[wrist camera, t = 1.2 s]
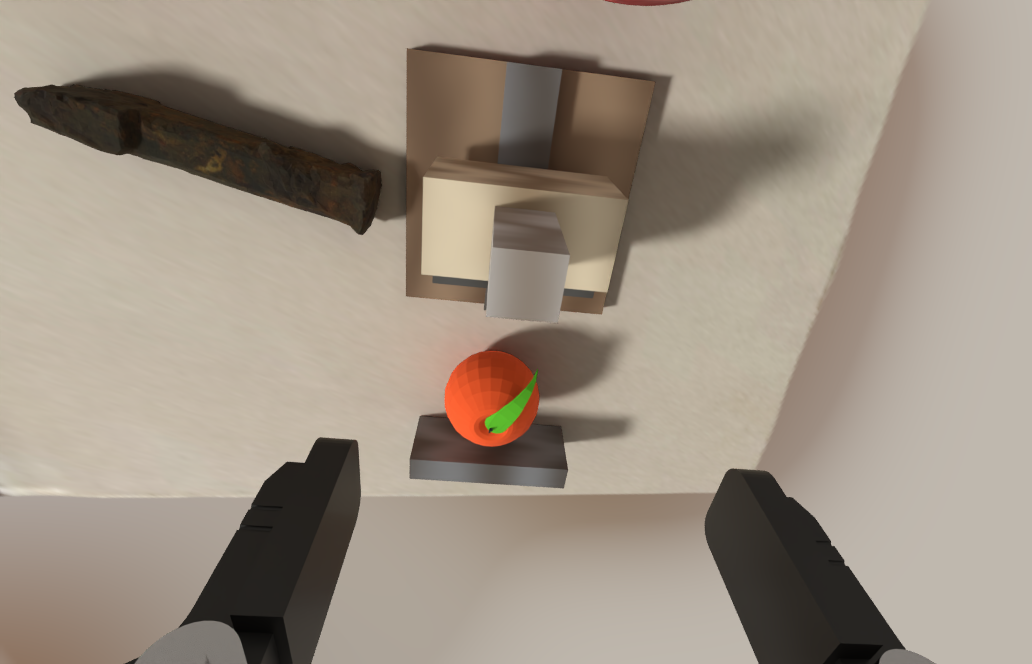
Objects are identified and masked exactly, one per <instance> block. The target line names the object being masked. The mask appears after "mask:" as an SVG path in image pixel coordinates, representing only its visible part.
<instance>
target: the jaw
mask: <svg viewBox="0 0 1032 664" xmlns="http://www.w3.org/2000/svg"><path fill="white" fill-rule="evenodd" d="M627 205H628V199H627V198H626V197H625V196H624V195H623V194H622V192H621V191H620V190H619V189H618V188H617V187H616V186H615V185H614V184H613V183H612V182H611V181H610V179H609V178H608V177H607V176H599V175H590V174H582V173H573V172H564V171H556V170H547V169H539V168H530V167H522V166H513V165H504V164H496V163H487V162H479V161H470V160H462V159H453V158H444V157H437V158H436V159H435V161H434V162H433V164H432V165H431V166H430V168H429V169H428V171H427V172H426V174H425V175H424V177H423V214H422V265H421V274H423V275H433V279H432V283H437V284H447V285H458V286H468V287H478V288H488V292H487V308H486V317H494V318H505V319H516V320H527V321H538V322H549V323H558V320H559V314H560V308H561V303H562V297H563V296H573V297H583V298H593V296H594V291H598V292H607V291H608V287H609V283H610V278H611V274H612V270H613V265H614V261H615V257H616V252H617V248H618V244H619V239H620V235H621V231H622V226H623V222H624V218H625V213H626V209H627Z"/></svg>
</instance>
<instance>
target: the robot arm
mask: <svg viewBox="0 0 1032 664" xmlns="http://www.w3.org/2000/svg"><path fill="white" fill-rule="evenodd" d="M360 497H361V486H360V468H359V450H358V442H357V440H349V439H335V438H322V437H320V438H318V439H317V440H316V441H315V443H314V445H313V447H312V449H311V451H310V453H309V455H308V457H307V459H306V461H305V463H298V462H286V463H285V464H284V465H283V466H282V467H280V468H279V469H278V470H277V471H276V472H275V473H274V474H272V475H271V476H270V477H269V478H268V479H267V480H266V481H265V482H264V483H263V485H262V487H261V489H260V491H259V492H258V494H257V496H256V498H255V500H254V501H253V503H252V506H251V509H250V510H248V512H247V513H246V515H245V517H244V519H243V521H242V523H241V524H240V529H239V530H237V531H236V533H235V535H234V537H233V538H232V540H231V542H230V544H229V545H228V547H227V549H226V550H225V552H224V554H223V556H222V558H221V560H220V561H219V563H218V565H217V566H216V568H215V570H214V572H213V574H212V575H211V577H210V579H209V581H208V582H207V584H206V586H205V587H204V589H203V591H202V593H201V595H200V596H199V598H198V600H197V602H196V604H195V605H194V607H193V609H192V610H191V612H190V613H189V615H188V616H187V618H186V619H185V620H184V621H183V623H182V624H181V625H180V626H179V628H177V629H175V630H173V631H172V632H170V633H168V634H166V635H165V636H163V637H162V638H161V639H159V640H158V641H156V642H155V643H154V644H153V645H151V646H150V647H149V648H148V649H147V650H146V651H145V652H144V653H143V654H142V655H141V656H140V657H139V658H137V659H134V660H132V661H130V662H128V663H125V664H311V662H312V659H313V656H314V653H315V650H316V646H317V643H318V640H319V637H320V634H321V631H322V628H323V624H324V621H325V618H326V615H327V612H328V609H329V605H330V602H331V599H332V596H333V593H334V590H335V587H336V584H337V580H338V577H339V574H340V571H341V568H342V565H343V562H344V558H345V555H346V552H347V549H348V546H349V542H350V540H351V537H352V533H353V530H354V527H355V524H356V520H357V517H358V511H359V506H360ZM705 535H706V540H707V543H708V546H709V548H710V550H711V553H712V555H713V557H714V560H715V562H716V564H717V567H718V569H719V571H720V574H721V576H722V578H723V581H724V583H725V585H726V588H727V590H728V593H729V595H730V597H731V600H732V602H733V604H734V606H735V609H736V611H737V613H738V616H739V618H740V621H741V623H742V625H743V628H744V630H745V632H746V634H747V637H748V639H749V642H750V644H751V646H752V649H753V651H754V653H755V656H756V658H757V660H758V662H759V664H935V663H934V662H932V661H930V660H929V659H927V658H925V657H923V656H921V655H919V654H917V653H914V652H911V651H908V650H906V649H905V648H904V646H903V645H902V644H901V642H900V641H899V640H898V638H897V637H896V635H895V634H894V632H893V631H892V629H891V628H890V627H889V625H888V624H887V622H886V621H885V619H884V618H883V616H882V615H881V613H880V612H879V611H878V609H877V607H876V606H875V605H874V603H873V602H872V600H871V599H870V597H869V596H868V594H867V593H866V592H865V590H864V589H863V587H862V586H861V585H860V583H859V581H858V580H857V578H856V577H855V575H854V574H853V573H852V571H851V570H850V568H849V567H848V566H845V564H844V559H843V558H842V557H841V555H840V554H839V552H838V551H837V549H836V548H835V546H831V541H830V539H829V538H828V536H827V535H826V533H825V532H824V530H823V529H822V527H821V526H820V525H819V523H818V522H817V520H816V519H815V518H814V517H813V516H812V515H811V514H810V513H809V512H808V511H807V510H806V509H804V508H803V507H802V506H801V505H800V504H799V503H798V502H797V501H795V500H794V499H793V498H791V497H786V495H785V494H784V492H783V491H782V489H781V488H780V486H779V485H778V483H777V482H776V480H775V478H774V477H773V476H772V475H771V474H770V473H769V472H767V471H760V470H746V469H730V470H728V471H727V472H726V474H725V476H724V478H723V480H722V482H721V484H720V486H719V489H718V491H717V493H716V495H715V497H714V499H713V501H712V504H711V506H710V508H709V510H708V512H707V515H706V518H705Z"/></svg>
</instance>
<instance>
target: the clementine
mask: <svg viewBox="0 0 1032 664" xmlns="http://www.w3.org/2000/svg"><path fill="white" fill-rule="evenodd" d="M537 373H538V369H537V371H536V373H535V375H534V376H533V374H532V372H531V371H530V369H529V368H528V367H527V366H526V365H525V364H524V363H523V362H522V361H521V360H519V359H518V358H516V357H515V356H513V355H511V354H508V353H505V352H501V351H484V352H479V353H477V354H474V355H471V356H470V357H468V358H467V359H465V360H464V361H463V362H461V363H460V364H459V365H458V366H457V367H456V368H455V370H454V371H453V372H452V374H451V376H450V379H449V381H448V383H447V386H446V388H445V408H446V412H447V416H448V418H449V420H450V422H451V423H452V425H453V427H454V428H455V430H456V431H457V432H458V433H459V434H461V435H462V436H463V437H464V438H466V439H468V440H470V441H471V442H473V443H475V444H479V445H482V446H491V447H493V446H501V445H504V444H507V443H510V442H512V441H514V440H515V439H517V438H519V437H520V436H522V435H523V434H524V433H525V432H526V431H527V430H528V429H529V427H530V426H531V424H532V422H533V420H534V418H535V417H536V415H537V410H538V405H539V391H538V386H537V383H536V378H537Z"/></svg>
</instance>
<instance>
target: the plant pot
mask: <svg viewBox="0 0 1032 664" xmlns="http://www.w3.org/2000/svg"><path fill="white" fill-rule="evenodd" d="M605 1H609V2H613V3H619V4H626V5H640V6H656V5H667V4H675V3H681V2H685V1H690V0H605Z"/></svg>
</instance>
